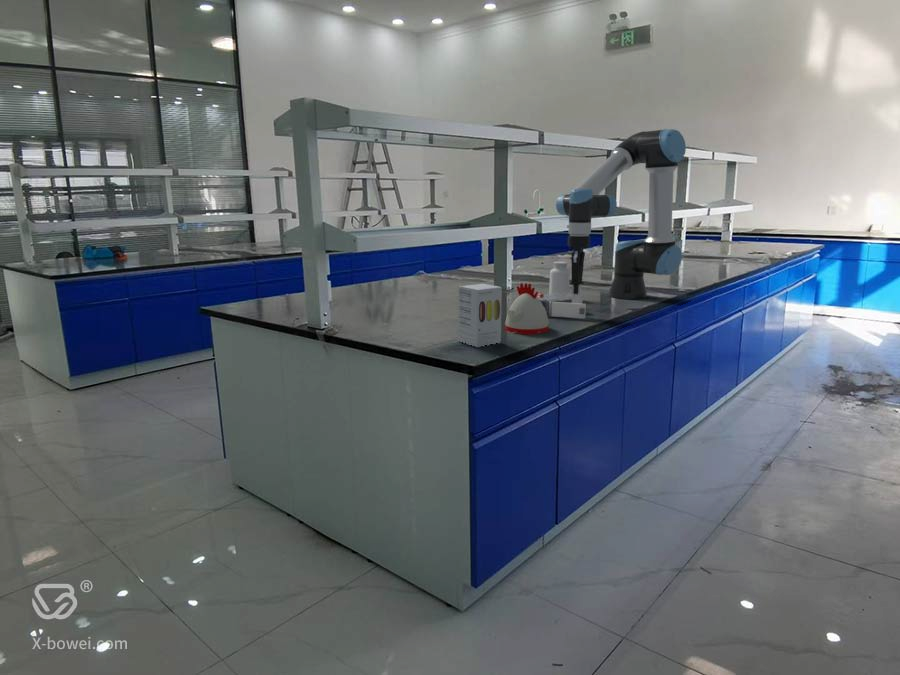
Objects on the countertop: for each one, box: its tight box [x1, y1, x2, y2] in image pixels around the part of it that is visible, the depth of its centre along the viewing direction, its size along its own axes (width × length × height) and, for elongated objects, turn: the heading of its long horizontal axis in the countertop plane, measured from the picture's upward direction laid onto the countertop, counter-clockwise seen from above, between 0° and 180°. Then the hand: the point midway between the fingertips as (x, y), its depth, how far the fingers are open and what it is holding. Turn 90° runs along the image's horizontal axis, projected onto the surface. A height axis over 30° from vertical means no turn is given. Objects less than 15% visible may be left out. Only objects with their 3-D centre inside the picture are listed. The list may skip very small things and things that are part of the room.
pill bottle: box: [548, 261, 571, 294], centre depth 246 cm, size 8×8×15 cm
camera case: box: [537, 292, 584, 318], centre depth 220 cm, size 19×10×7 cm, turn 118°
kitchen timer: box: [504, 282, 550, 335], centre depth 194 cm, size 14×14×15 cm
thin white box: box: [548, 301, 587, 319], centre depth 210 cm, size 13×2×5 cm, turn 68°
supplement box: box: [458, 283, 503, 348], centre depth 177 cm, size 10×9×17 cm
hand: (575, 302), depth 214 cm, fingers closed
